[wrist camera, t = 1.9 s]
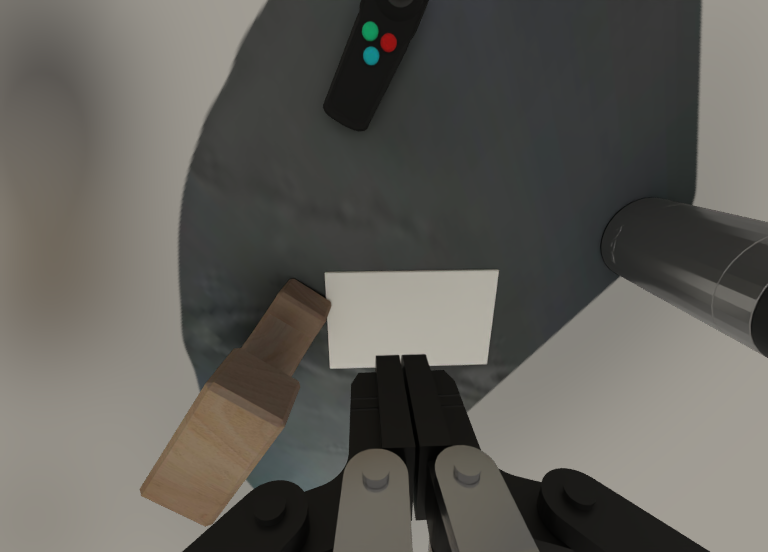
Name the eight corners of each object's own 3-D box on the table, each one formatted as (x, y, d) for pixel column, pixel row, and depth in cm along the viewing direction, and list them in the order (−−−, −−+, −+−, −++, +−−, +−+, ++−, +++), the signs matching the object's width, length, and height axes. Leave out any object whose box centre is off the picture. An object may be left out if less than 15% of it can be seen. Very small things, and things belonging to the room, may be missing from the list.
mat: (497, 269, 42) (498, 270, 42) (485, 362, 46) (486, 364, 46) (324, 271, 41) (324, 273, 40) (330, 366, 45) (330, 368, 45)
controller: (427, 3, 32) (454, -49, 23) (365, 136, 36) (366, 138, 27) (384, -26, 31) (393, -92, 22) (324, 114, 35) (311, 108, 26)
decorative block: (292, 275, 41) (206, 381, 22) (335, 303, 42) (289, 428, 23) (244, 346, 44) (131, 495, 25) (285, 371, 45) (207, 532, 26)
